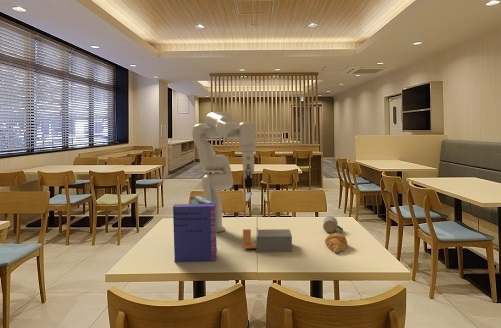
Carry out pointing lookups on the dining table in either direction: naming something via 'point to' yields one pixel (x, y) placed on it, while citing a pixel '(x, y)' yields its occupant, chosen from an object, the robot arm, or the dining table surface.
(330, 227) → the ceramic mug
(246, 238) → the orange stepped block
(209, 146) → the robot arm
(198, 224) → the cereal box
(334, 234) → the croissant
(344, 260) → the dining table surface
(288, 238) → the grey boxy piece
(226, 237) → the dining table surface
